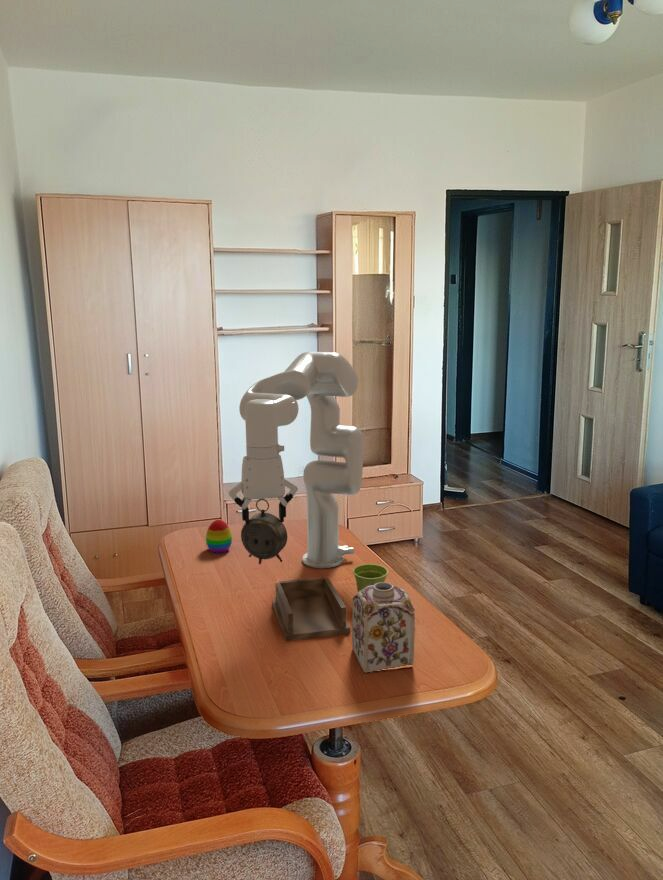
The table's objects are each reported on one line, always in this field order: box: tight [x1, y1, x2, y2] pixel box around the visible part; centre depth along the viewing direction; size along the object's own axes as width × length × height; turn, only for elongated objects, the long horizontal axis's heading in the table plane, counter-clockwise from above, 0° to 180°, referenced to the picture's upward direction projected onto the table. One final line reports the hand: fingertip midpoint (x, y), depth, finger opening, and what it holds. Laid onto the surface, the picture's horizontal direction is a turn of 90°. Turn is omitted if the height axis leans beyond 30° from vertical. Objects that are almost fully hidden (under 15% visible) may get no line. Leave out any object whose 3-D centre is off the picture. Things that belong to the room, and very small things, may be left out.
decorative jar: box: [351, 581, 416, 674], centre depth 163 cm, size 12×12×18 cm
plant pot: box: [352, 563, 389, 593], centre depth 193 cm, size 9×9×9 cm
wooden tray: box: [271, 576, 351, 642], centre depth 183 cm, size 16×20×6 cm
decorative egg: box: [205, 519, 233, 554], centre depth 228 cm, size 8×8×10 cm
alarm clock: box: [240, 499, 288, 565], centre depth 175 cm, size 11×5×16 cm, turn 70°
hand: (264, 521), depth 174 cm, fingers closed on alarm clock, 7 cm apart
